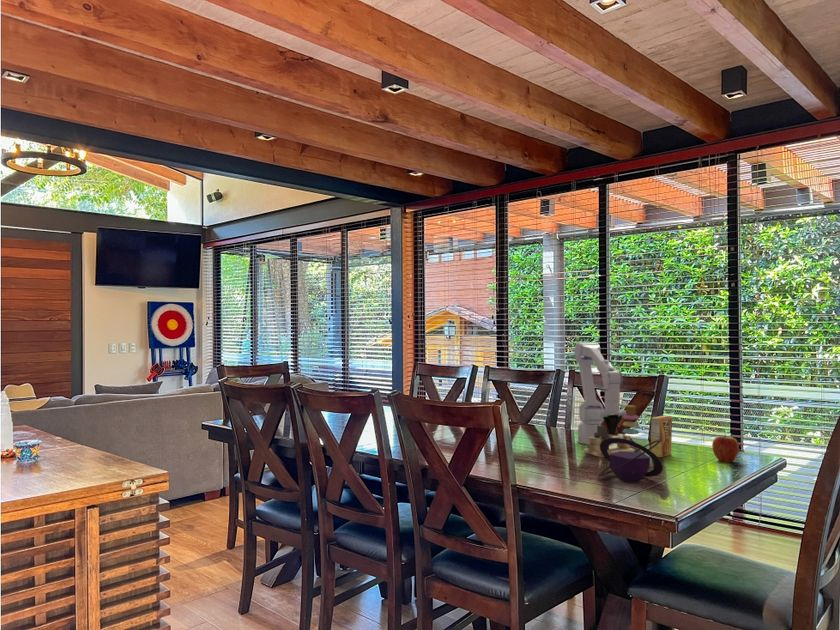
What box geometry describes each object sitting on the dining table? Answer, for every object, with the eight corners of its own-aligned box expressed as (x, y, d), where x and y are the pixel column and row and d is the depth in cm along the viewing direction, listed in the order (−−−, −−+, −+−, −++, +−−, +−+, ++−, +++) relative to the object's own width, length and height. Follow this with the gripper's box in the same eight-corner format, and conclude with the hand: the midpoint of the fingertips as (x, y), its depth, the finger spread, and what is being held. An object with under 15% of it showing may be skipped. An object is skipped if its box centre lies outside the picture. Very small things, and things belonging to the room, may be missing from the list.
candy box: (662, 453, 251) (662, 415, 251) (672, 455, 248) (672, 416, 248) (650, 456, 246) (650, 417, 246) (660, 458, 242) (660, 418, 243)
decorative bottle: (677, 482, 206) (677, 406, 206) (647, 493, 191) (648, 412, 192) (614, 469, 222) (615, 399, 222) (583, 480, 207) (583, 404, 208)
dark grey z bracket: (594, 447, 251) (594, 425, 251) (598, 447, 252) (598, 424, 252) (605, 450, 246) (605, 427, 246) (608, 449, 247) (609, 427, 247)
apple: (711, 462, 236) (711, 435, 236) (712, 457, 244) (712, 432, 244) (738, 465, 232) (738, 438, 232) (738, 460, 240) (738, 434, 240)
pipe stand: (583, 452, 251) (583, 436, 251) (616, 448, 260) (616, 432, 260) (601, 457, 242) (601, 440, 243) (634, 453, 251) (634, 436, 251)
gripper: (606, 402, 245) (605, 437, 245) (632, 400, 252) (632, 434, 252) (593, 400, 251) (593, 434, 251) (619, 398, 258) (619, 431, 258)
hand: (611, 434), depth 252 cm, fingers closed
